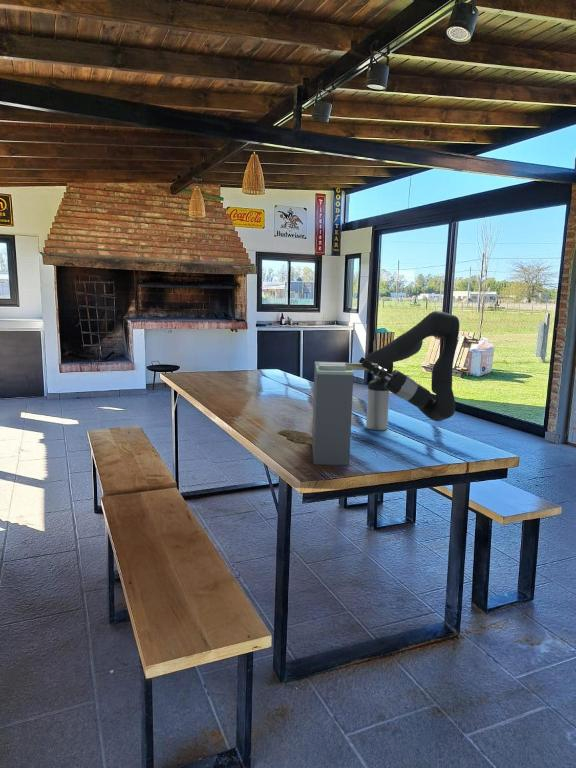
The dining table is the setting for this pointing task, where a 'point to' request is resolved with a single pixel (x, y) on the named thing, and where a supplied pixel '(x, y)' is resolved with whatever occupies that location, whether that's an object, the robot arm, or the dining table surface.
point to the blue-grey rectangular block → (332, 415)
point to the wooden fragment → (297, 436)
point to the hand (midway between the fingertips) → (361, 360)
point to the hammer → (342, 366)
